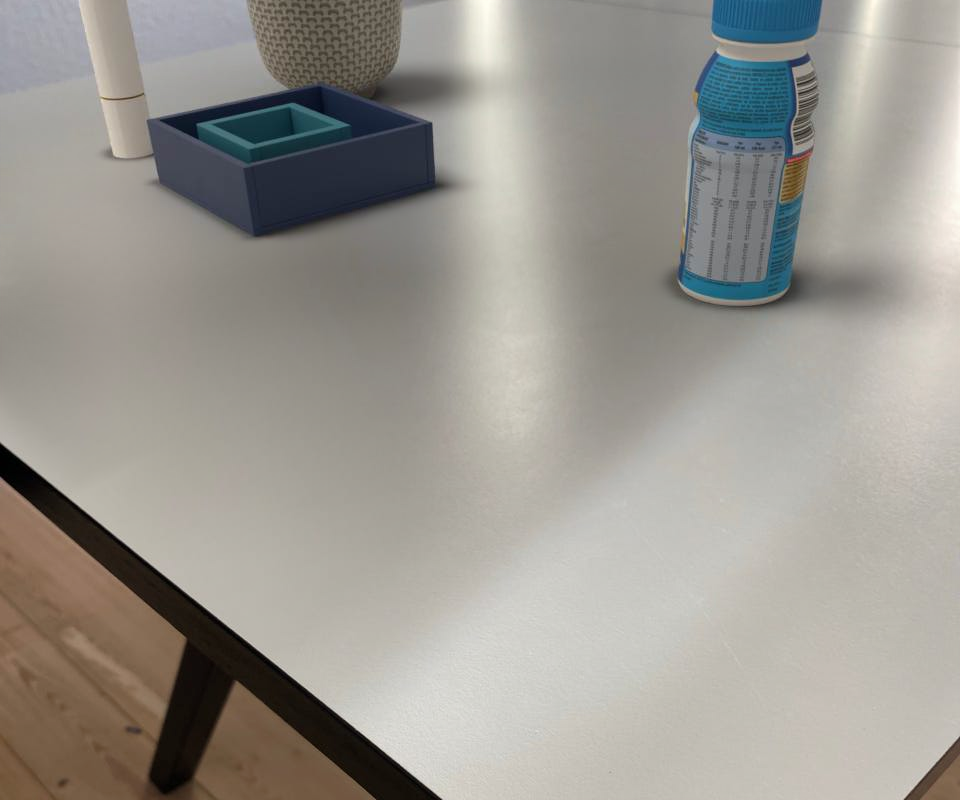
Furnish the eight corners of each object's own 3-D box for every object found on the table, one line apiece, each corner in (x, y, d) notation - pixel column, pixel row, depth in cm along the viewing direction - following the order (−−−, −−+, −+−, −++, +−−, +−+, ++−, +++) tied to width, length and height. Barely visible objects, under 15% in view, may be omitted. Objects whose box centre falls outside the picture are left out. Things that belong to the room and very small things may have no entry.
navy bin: (254, 240, 93) (243, 168, 89) (159, 185, 105) (146, 119, 101) (436, 190, 102) (432, 122, 98) (329, 144, 113) (322, 82, 109)
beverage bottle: (696, 316, 79) (729, -4, 66) (660, 271, 86) (684, -29, 73) (809, 304, 80) (863, -14, 67) (765, 261, 87) (806, -37, 74)
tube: (148, 161, 111) (112, -12, 101) (107, 160, 111) (67, -12, 101) (163, 147, 114) (129, -21, 104) (123, 147, 114) (85, -21, 105)
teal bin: (258, 209, 97) (249, 148, 93) (206, 181, 103) (195, 123, 100) (356, 183, 101) (350, 125, 98) (300, 158, 107) (293, 102, 104)
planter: (298, 129, 118) (276, -48, 107) (234, 94, 129) (209, -68, 119) (439, 101, 124) (431, -68, 114) (367, 70, 136) (353, -86, 125)
